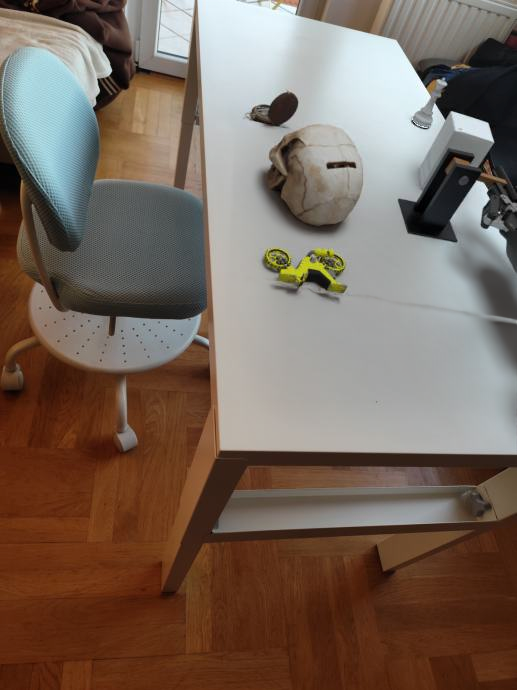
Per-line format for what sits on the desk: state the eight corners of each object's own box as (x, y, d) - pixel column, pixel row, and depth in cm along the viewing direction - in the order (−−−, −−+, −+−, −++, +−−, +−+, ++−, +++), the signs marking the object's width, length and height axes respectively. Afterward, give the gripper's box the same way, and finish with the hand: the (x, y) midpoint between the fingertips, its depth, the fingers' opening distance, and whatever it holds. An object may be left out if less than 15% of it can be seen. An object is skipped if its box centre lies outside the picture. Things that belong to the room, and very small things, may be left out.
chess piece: (413, 126, 106) (437, 80, 98) (409, 116, 109) (432, 70, 101) (431, 131, 107) (456, 85, 99) (427, 120, 109) (451, 75, 102)
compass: (270, 108, 96) (280, 70, 90) (292, 130, 93) (303, 92, 87) (236, 111, 92) (244, 72, 87) (258, 134, 89) (267, 95, 83)
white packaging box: (454, 205, 90) (495, 143, 80) (417, 193, 90) (454, 129, 80) (451, 183, 95) (489, 122, 85) (415, 171, 94) (450, 109, 85)
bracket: (441, 213, 87) (482, 149, 78) (453, 247, 82) (500, 182, 72) (395, 204, 86) (431, 137, 76) (405, 237, 80) (445, 170, 70)
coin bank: (285, 155, 86) (314, 85, 76) (361, 214, 84) (402, 150, 73) (231, 190, 78) (255, 116, 67) (315, 257, 75) (354, 192, 65)
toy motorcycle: (346, 244, 69) (358, 281, 65) (337, 263, 72) (348, 299, 68) (266, 237, 66) (273, 275, 62) (259, 257, 69) (266, 295, 65)
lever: (496, 175, 81) (505, 163, 80) (513, 209, 76) (524, 197, 74) (439, 157, 79) (448, 144, 77) (453, 191, 73) (463, 178, 71)
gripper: (608, 250, 66) (556, 176, 76) (518, 234, 63) (477, 159, 73) (569, 288, 71) (525, 215, 82) (485, 275, 69) (450, 201, 79)
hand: (502, 189), depth 78 cm, fingers open, 3 cm apart
